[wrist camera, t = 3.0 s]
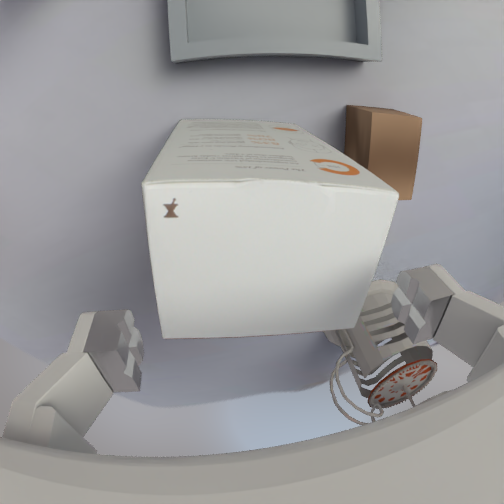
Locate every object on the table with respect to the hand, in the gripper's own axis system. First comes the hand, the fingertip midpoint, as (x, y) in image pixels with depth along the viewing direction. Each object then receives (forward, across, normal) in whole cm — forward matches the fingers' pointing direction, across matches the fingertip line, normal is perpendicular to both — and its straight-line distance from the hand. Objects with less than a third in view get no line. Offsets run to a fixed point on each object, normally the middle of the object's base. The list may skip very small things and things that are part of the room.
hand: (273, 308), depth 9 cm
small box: (+15, 0, 0) cm, 15 cm away
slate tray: (+14, -4, -14) cm, 21 cm away
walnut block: (+14, -10, -1) cm, 18 cm away
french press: (+15, -12, +17) cm, 25 cm away
